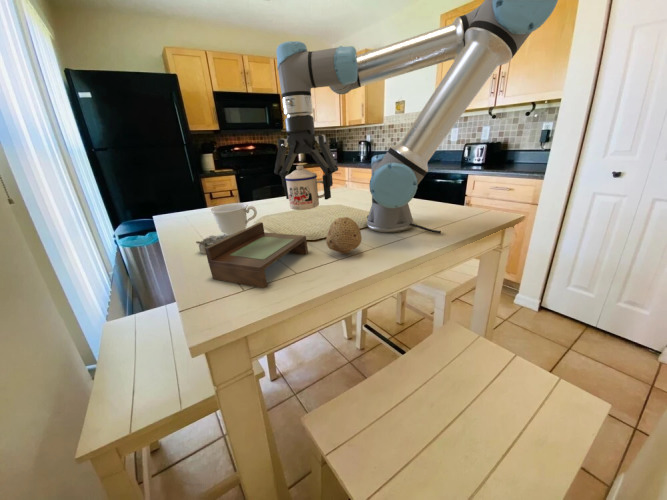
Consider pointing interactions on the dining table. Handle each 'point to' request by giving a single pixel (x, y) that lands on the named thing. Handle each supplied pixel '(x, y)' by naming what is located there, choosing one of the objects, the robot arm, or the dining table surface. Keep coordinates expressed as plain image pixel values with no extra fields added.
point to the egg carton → (210, 242)
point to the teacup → (232, 217)
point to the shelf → (251, 254)
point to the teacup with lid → (303, 189)
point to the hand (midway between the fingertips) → (308, 198)
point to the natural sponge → (343, 235)
